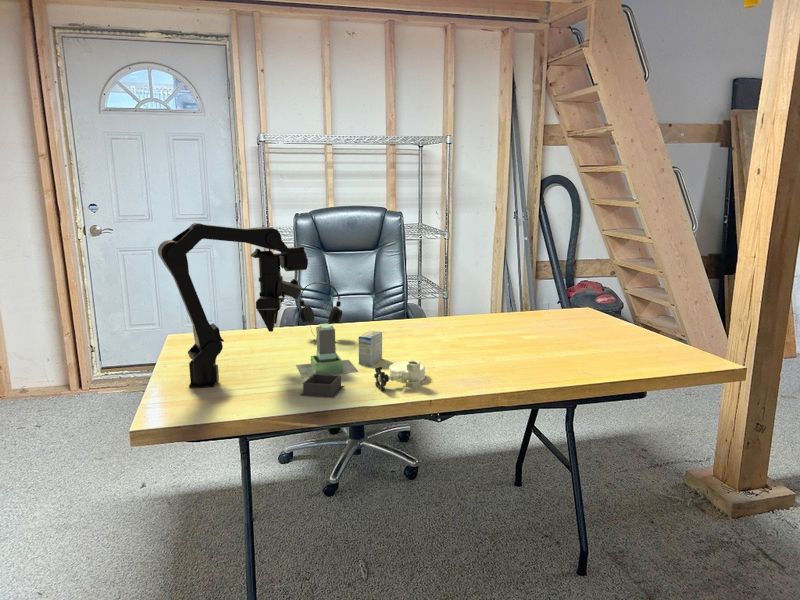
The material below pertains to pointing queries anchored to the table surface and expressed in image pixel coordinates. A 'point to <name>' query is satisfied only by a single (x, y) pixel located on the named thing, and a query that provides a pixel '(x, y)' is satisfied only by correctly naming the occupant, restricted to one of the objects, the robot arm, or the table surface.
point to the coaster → (403, 366)
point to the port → (326, 367)
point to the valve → (400, 376)
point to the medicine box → (370, 347)
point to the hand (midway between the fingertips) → (272, 327)
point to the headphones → (308, 314)
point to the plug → (325, 343)
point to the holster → (322, 386)
